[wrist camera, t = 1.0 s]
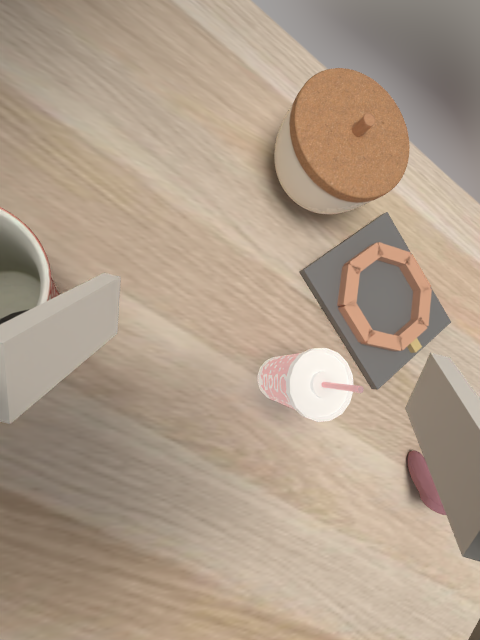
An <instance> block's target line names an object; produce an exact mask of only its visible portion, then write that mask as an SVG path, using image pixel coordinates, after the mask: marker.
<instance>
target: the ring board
mask: <svg viewBox="0 0 480 640" xmlns="http://www.w3.org/2000/svg"><path fill="white" fill-rule="evenodd" d="M300 274H301V275H302V277H303V278H304V280H305V282H306V283H307V285H308V286H309V288H310V290H311V291H312V293H313V294H314V296H315V298H316V299H317V301H318V302H319V304H320V306H321V307H322V309H323V311H324V312H325V314H326V315H327V317H328V319H329V320H330V322H331V323H332V325H333V327H334V328H335V330H336V331H337V333H338V335H339V336H340V338H341V340H342V341H343V343H344V344H345V346H346V348H347V349H348V351H349V352H350V354H351V356H352V357H353V359H354V360H355V362H356V364H357V365H358V367H359V368H360V370H361V372H362V373H363V375H364V377H365V378H366V380H367V381H368V383H369V385H370V386H371V388H372V389H379V388H380V387H381V386H382V385H383V384H384V383H385V382H387V381H388V380H389V379H390V378H391V377H392V376H393V375H394V374H395V373H396V372H397V371H398V370H400V369H401V368H402V367H403V366H404V365H405V364H406V363H407V362H408V361H409V360H410V359H412V358H413V357H414V356H415V355H416V354H417V353H418V352H419V351H420V350H421V349H422V348H423V347H425V346H426V345H427V344H428V343H429V342H430V341H431V340H432V339H433V338H434V337H435V336H437V335H438V334H439V333H440V332H441V331H442V330H443V329H444V328H445V327H446V326H447V325H448V324H450V323H451V321H450V319H449V317H448V316H447V314H446V312H445V311H444V309H443V307H442V305H441V304H440V302H439V300H438V299H437V297H436V295H435V293H434V292H433V290H432V288H431V285H430V283H429V282H428V280H427V278H426V277H425V275H424V273H423V271H422V270H421V268H420V266H419V265H418V263H417V261H416V259H415V258H414V256H413V254H411V252H410V250H409V249H408V247H407V245H406V243H405V242H404V240H403V238H402V237H401V235H400V233H399V231H398V230H397V228H396V226H395V225H394V223H393V221H392V219H391V218H390V216H389V214H388V213H387V212H386V213H384V214H382V215H381V216H379V217H378V218H376V219H375V220H373V221H372V222H371V223H369V224H368V225H366V226H365V227H363V228H362V229H360V230H359V231H358V232H356V233H355V234H353V235H352V236H350V237H349V238H348V239H346V240H345V241H343V242H342V243H340V244H339V245H337V246H336V247H335V248H333V249H332V250H330V251H329V252H327V253H326V254H324V255H323V256H322V257H320V258H319V259H317V260H316V261H314V262H313V263H311V264H310V265H309V266H307V267H306V268H304V269H303V270H301V271H300Z"/></svg>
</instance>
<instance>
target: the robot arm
mask: <svg viewBox="0 0 480 640" xmlns="http://www.w3.org/2000/svg"><path fill="white" fill-rule="evenodd" d="M120 281H121V277H120V276H115V275H111V274H107V273H103V274H101V275H99V276H97V277H95V278H93V279H91V280H88V281H86V282H84V283H82V284H80V285H78V286H76V287H74V288H72V289H70V290H68V291H66V292H64V293H62V294H60V295H58V296H56V297H54V298H52V299H50V300H48V301H46V302H44V303H42V304H40V305H38V306H36V307H34V308H32V309H30V310H29V309H28V310H24V311H19V312H15V313H12V314H10V315H8V316H5V317H3V318H1V319H0V421H1V422H4V423H8V424H11V423H12V422H13V421H14V420H15V419H17V418H18V417H19V416H20V415H21V414H23V413H24V412H25V411H26V410H27V409H29V408H30V407H31V406H32V405H33V404H34V403H36V402H37V401H38V400H39V399H40V398H42V397H43V396H44V395H45V394H46V393H47V392H49V391H50V390H51V389H52V388H53V387H55V386H56V385H57V384H58V383H59V382H60V381H62V380H63V379H64V378H65V377H66V376H68V375H69V374H70V373H71V372H72V371H74V370H75V369H76V368H77V367H78V366H79V365H81V364H82V363H83V362H84V361H85V360H87V359H88V358H89V357H90V356H91V355H92V354H94V353H95V352H96V351H97V350H98V349H100V348H101V347H102V346H103V345H104V344H105V343H107V342H108V341H109V340H110V339H111V338H113V337H114V336H115V335H116V334H117V332H118V315H119V298H120ZM405 409H406V412H407V414H408V417H409V419H410V422H411V425H412V427H413V430H414V432H415V435H416V438H417V440H418V443H419V445H420V448H421V450H422V453H423V456H424V458H425V461H426V463H427V466H428V469H429V471H430V474H431V476H432V479H433V482H434V484H435V487H436V489H437V492H438V494H439V497H440V500H441V502H442V505H443V507H444V510H445V513H446V515H447V518H448V520H449V523H450V526H451V528H452V531H453V533H454V536H455V538H456V541H457V544H458V546H459V549H460V551H461V554H462V556H463V557H466V558H470V559H473V560H477V561H480V398H479V396H478V395H477V394H476V392H475V391H474V390H473V388H472V387H471V385H470V384H469V383H468V381H467V380H466V379H465V377H464V376H463V374H462V373H461V372H460V370H459V369H458V368H457V366H456V365H455V363H454V362H453V361H452V359H451V358H450V357H446V356H442V355H438V354H434V353H430V355H429V357H428V359H427V361H426V364H425V366H424V368H423V370H422V372H421V375H420V377H419V379H418V381H417V383H416V386H415V388H414V390H413V392H412V394H411V397H410V399H409V401H408V403H407V405H406V408H405ZM468 640H480V619H479V621H478V623H477V625H476V627H475V628H474V630H473V632H472V634H471V636H470V638H469V639H468Z"/></svg>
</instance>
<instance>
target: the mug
mask: <svg viewBox="0 0 480 640" xmlns="http://www.w3.org/2000/svg"><path fill="white" fill-rule="evenodd" d="M58 295H59V293H58V292H57V290H56V288H55V285H54V283H53V280H52V278H51V271H50V266H49V262H48V258H47V255H46V253H45V251H44V249H43V247H42V245H41V243H40V241H39V240H38V239H37V237H36V236H35V234H34V233H33V232H32V231H31V230H30V229H29V228H28V227H27V226H26V225H25V224H24V223H23V222H22V221H21V220H20V219H18V218H17V217H16V216H14V215H13V214H11V213H10V212H8V211H6V210H5V209H3V208H1V207H0V319H1V318H3V317H5V316H8V315H10V314H12V313H15V312H19V311H24V310H28V309H29V310H30V309H32V308H34V307H36V306H38V305H40V304H42V303H44V302H46V301H48V300H50V299H52V298H54V297H56V296H58Z"/></svg>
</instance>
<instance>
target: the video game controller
mask: <svg viewBox="0 0 480 640" xmlns="http://www.w3.org/2000/svg"><path fill="white" fill-rule="evenodd" d="M407 461H408V468H409V472H410V475H411V478H412V480H413V482H414V484H415V486H416V488H417V490H418V491H419V493H420V498H421V500H422V501H423V503H424V504H425V505H426V506H427V507H429V508H430V509H431V510H433V511H435V512H437V513H440V514H443V515H446V513H445V510H444V507H443V505H442V502H441V500H440V497H439V494H438V492H437V489H436V487H435V484H434V482H433V479H432V476H431V474H430V471H429V469H428V466H427V463H426V461H425V458H424V457H423V456H422V455H421V454H420V453H419V452H417V451H411V452H409V454H408V460H407Z"/></svg>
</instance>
